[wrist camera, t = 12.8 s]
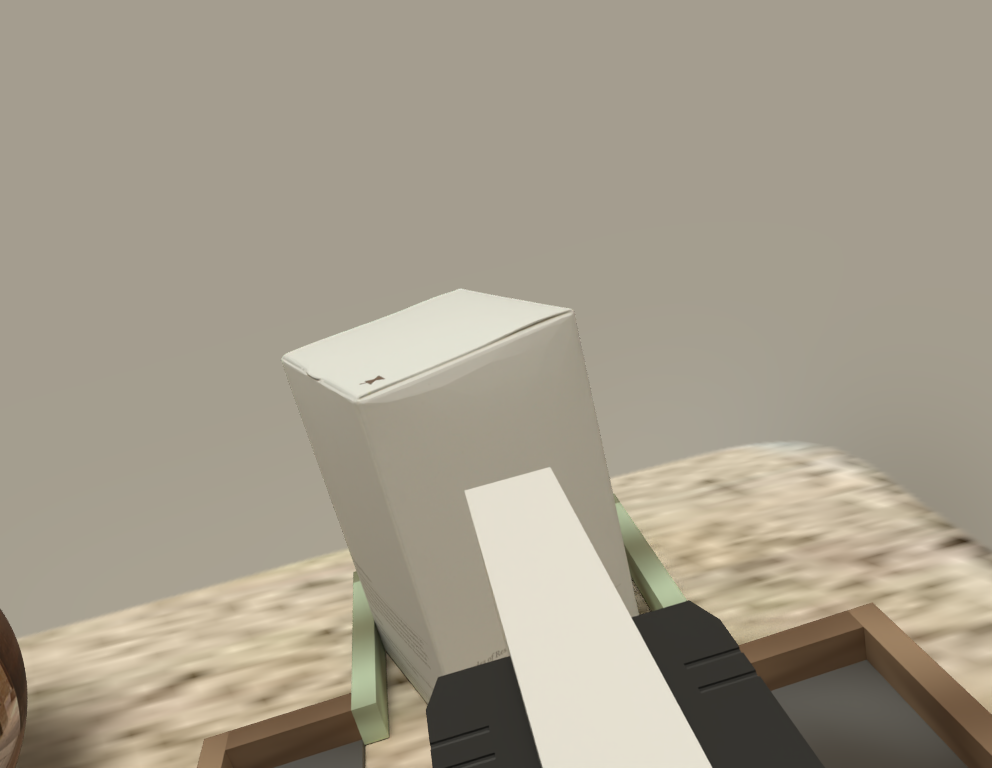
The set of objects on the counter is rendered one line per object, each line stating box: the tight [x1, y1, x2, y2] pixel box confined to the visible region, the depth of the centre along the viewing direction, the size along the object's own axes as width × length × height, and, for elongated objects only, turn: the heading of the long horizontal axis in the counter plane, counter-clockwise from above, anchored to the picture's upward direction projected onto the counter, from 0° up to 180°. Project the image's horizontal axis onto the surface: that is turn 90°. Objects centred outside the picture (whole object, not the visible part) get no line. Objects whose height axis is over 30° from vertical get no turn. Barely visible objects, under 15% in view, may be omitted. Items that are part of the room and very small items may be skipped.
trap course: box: [197, 494, 992, 768], centre depth 28 cm, size 26×26×2 cm
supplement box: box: [281, 289, 639, 704], centre depth 32 cm, size 9×9×15 cm
